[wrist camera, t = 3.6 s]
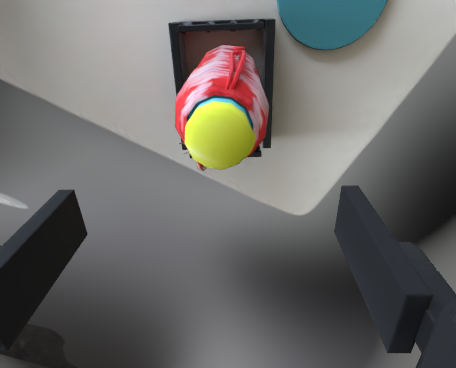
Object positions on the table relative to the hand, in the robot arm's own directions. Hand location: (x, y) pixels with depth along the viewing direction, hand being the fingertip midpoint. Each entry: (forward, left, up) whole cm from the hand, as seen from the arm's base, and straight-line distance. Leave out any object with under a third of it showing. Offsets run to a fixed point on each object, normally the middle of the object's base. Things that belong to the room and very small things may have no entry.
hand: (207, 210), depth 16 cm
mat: (+13, +11, -31) cm, 35 cm away
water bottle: (0, 0, -31) cm, 31 cm away
